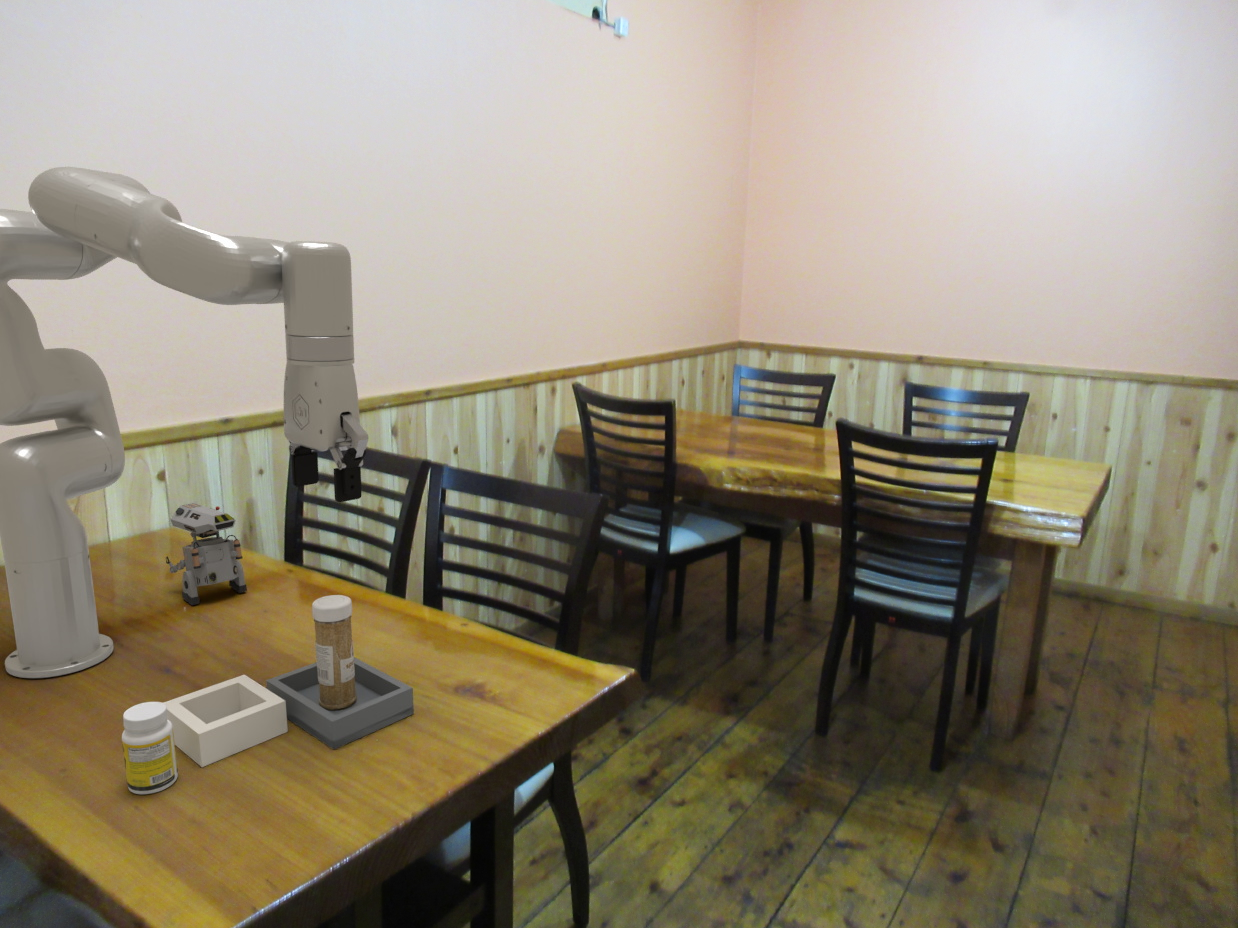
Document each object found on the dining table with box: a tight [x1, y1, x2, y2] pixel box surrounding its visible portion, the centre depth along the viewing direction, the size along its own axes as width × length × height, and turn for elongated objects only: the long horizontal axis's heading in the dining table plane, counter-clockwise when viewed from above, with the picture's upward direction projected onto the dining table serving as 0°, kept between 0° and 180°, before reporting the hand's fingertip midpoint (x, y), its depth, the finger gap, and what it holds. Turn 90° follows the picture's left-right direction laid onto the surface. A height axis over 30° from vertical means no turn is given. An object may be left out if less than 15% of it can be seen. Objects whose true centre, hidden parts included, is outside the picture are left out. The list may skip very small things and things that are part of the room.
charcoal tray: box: [265, 656, 415, 750], centre depth 105 cm, size 15×11×4 cm
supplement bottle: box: [121, 701, 179, 795], centre depth 89 cm, size 5×5×8 cm
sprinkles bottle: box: [311, 594, 357, 710], centre depth 104 cm, size 5×5×14 cm
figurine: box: [165, 502, 248, 607], centre depth 141 cm, size 9×12×15 cm
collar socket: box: [163, 674, 289, 768], centre depth 99 cm, size 10×10×4 cm
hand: (326, 492), depth 102 cm, fingers open, 9 cm apart
